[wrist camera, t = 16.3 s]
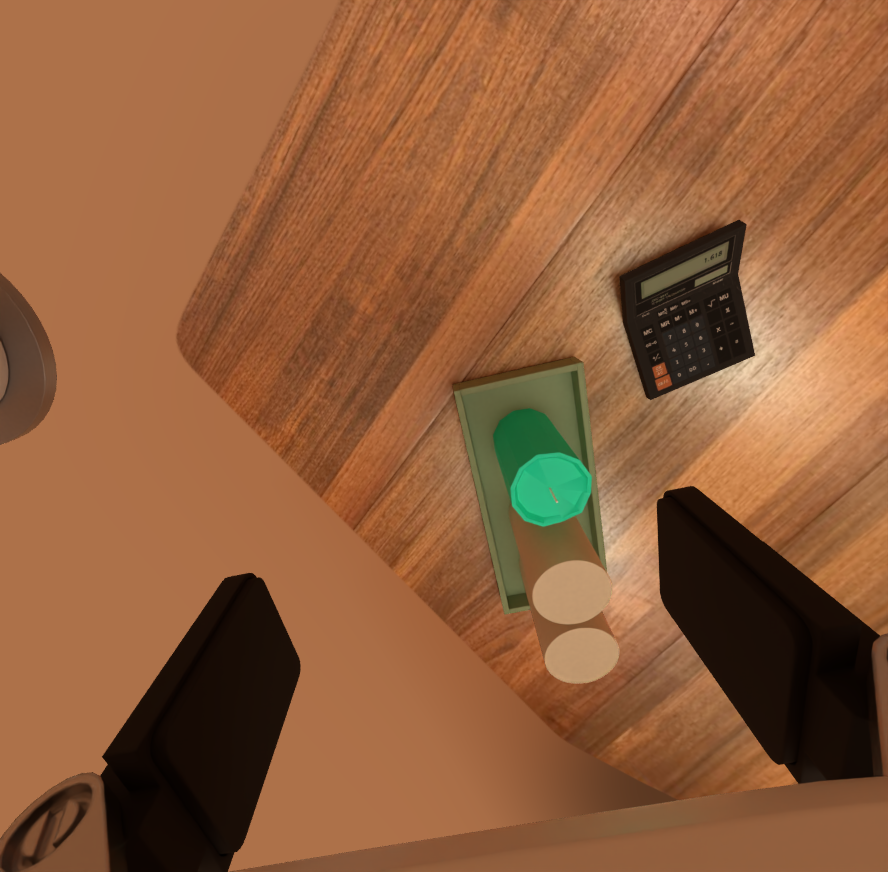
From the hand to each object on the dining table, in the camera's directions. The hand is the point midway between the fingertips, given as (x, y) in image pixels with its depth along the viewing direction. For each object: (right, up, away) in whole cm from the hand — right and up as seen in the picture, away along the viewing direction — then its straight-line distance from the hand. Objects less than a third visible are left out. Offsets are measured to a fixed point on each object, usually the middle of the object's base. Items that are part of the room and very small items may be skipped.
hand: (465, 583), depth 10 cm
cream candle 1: (+9, -4, +33) cm, 34 cm away
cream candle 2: (+10, -10, +35) cm, 38 cm away
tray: (+9, -2, +33) cm, 34 cm away
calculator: (+20, +14, +27) cm, 36 cm away
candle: (+7, +3, +30) cm, 31 cm away
